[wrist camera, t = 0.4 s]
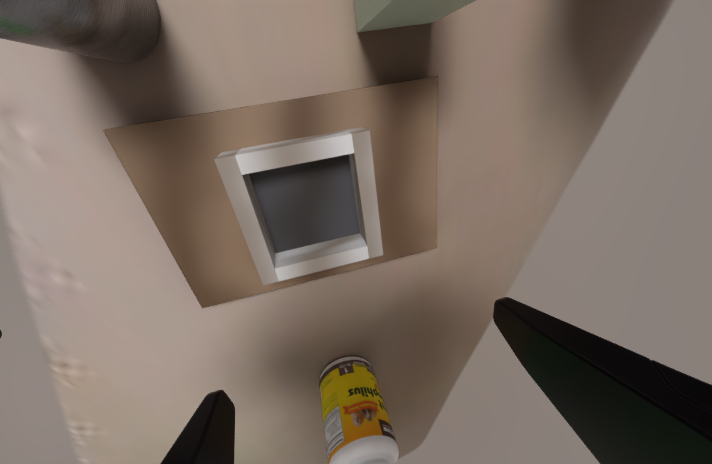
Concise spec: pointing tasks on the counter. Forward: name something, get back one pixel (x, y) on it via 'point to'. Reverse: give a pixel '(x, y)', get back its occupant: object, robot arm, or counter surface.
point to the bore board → (290, 186)
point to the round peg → (84, 26)
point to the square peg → (401, 12)
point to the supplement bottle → (355, 415)
